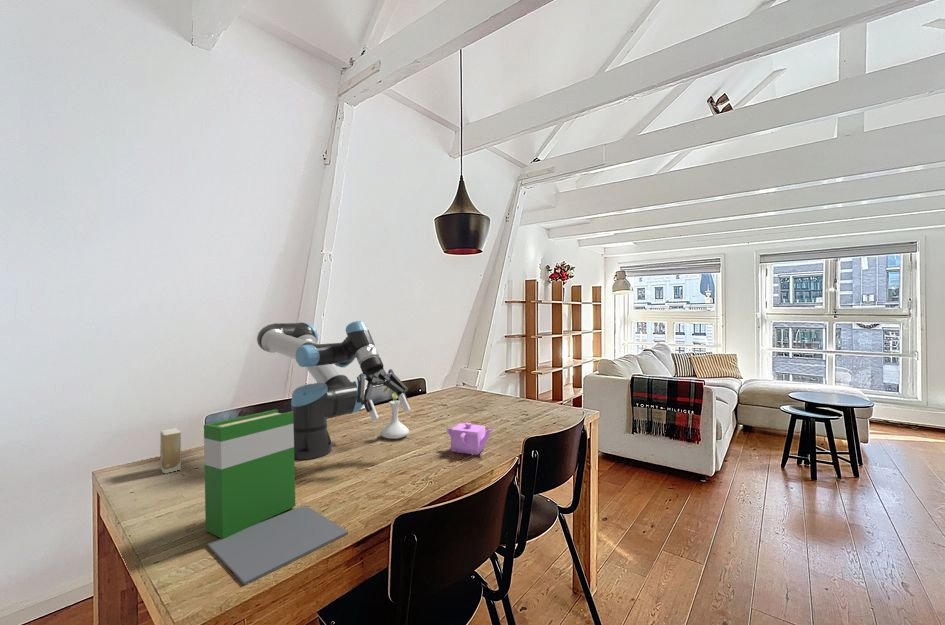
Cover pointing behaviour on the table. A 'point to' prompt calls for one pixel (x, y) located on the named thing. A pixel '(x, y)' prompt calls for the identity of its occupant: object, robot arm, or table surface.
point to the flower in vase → (394, 421)
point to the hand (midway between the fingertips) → (392, 415)
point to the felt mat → (275, 543)
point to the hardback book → (248, 470)
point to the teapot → (468, 438)
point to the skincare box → (170, 450)
